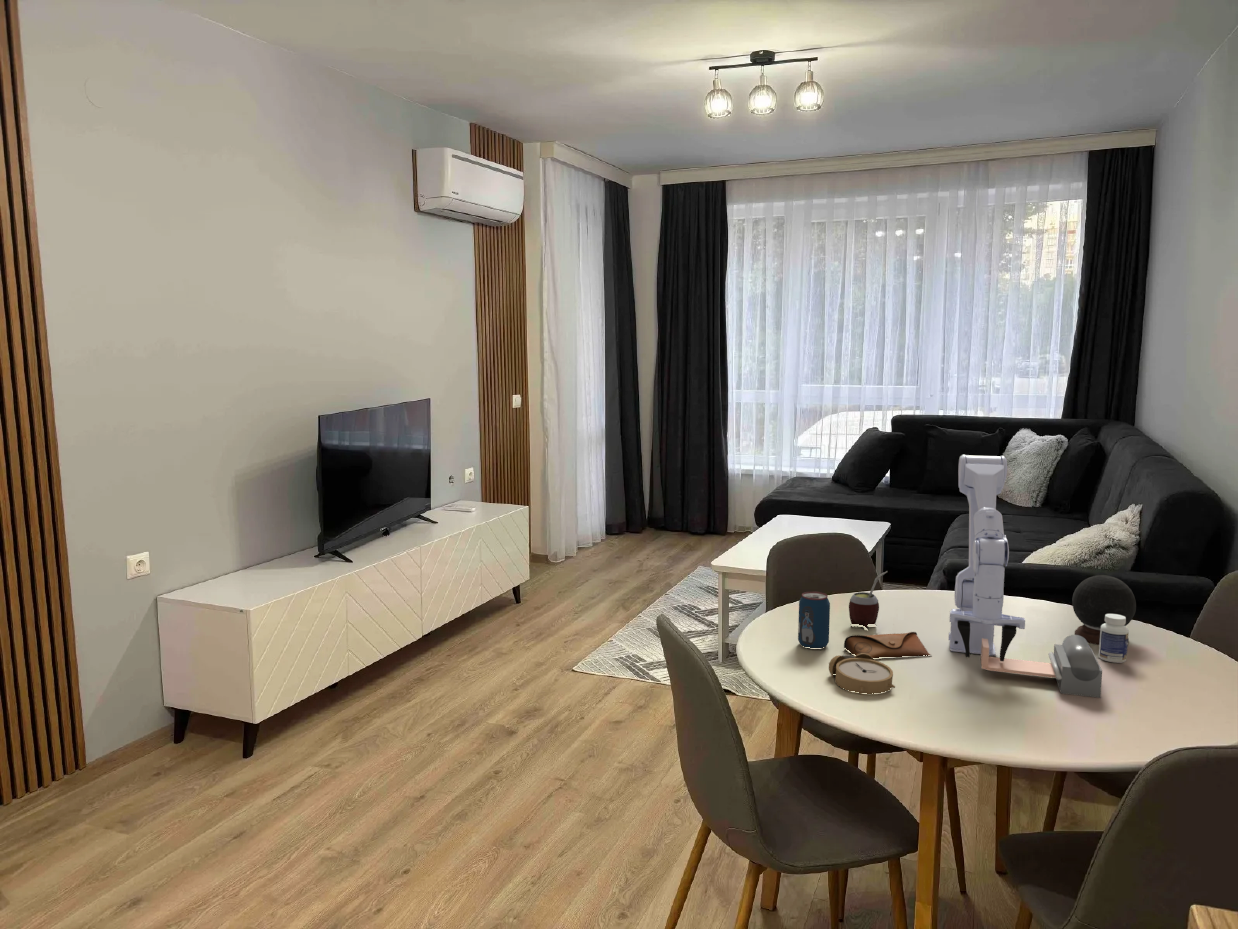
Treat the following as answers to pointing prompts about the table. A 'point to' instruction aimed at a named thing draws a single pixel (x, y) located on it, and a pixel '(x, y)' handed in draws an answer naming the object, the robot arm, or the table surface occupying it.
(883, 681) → the alarm clock
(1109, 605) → the black ball on stand
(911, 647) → the sunglasses case
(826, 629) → the soda can
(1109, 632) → the pill bottle
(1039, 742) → the table surface
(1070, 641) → the dispenser
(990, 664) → the pink l-shaped bracket
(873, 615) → the mate gourd
